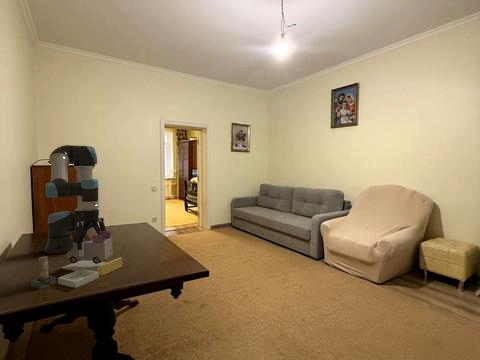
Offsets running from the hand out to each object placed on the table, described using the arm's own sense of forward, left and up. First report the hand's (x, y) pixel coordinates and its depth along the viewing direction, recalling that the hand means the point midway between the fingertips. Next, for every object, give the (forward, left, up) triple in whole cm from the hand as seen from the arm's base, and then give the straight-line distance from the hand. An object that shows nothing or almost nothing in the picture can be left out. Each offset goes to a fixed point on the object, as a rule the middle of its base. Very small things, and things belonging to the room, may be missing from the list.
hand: (91, 252), depth 132 cm
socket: (-1, -22, -7) cm, 23 cm away
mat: (0, 0, -7) cm, 7 cm away
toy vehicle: (0, 0, -4) cm, 4 cm away
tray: (+10, -14, -7) cm, 19 cm away
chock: (+13, 0, -7) cm, 15 cm away
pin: (-1, -22, -7) cm, 23 cm away
